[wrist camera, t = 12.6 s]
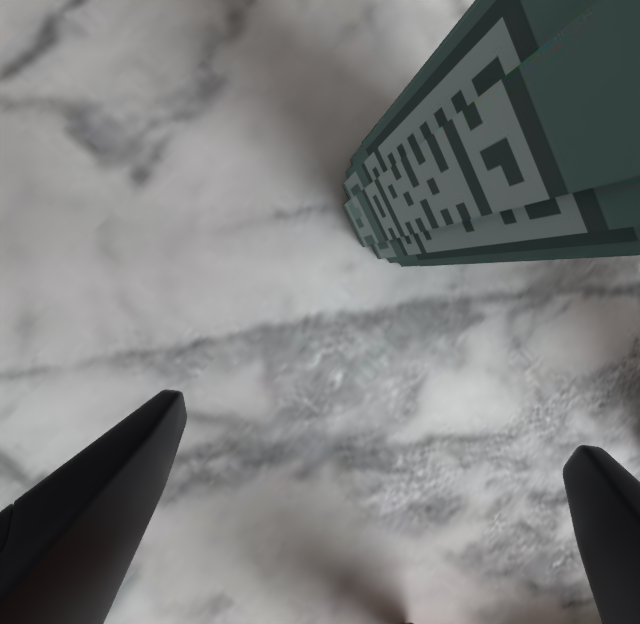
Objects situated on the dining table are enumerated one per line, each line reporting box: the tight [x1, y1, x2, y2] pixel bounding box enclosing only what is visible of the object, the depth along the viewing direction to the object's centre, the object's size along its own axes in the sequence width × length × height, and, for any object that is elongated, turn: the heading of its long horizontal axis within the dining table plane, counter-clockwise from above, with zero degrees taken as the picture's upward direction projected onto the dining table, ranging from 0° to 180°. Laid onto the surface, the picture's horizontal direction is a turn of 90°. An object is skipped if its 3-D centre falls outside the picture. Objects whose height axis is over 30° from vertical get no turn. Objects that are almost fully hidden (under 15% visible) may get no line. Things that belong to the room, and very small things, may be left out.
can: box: [343, 0, 640, 267], centre depth 11 cm, size 6×6×15 cm
